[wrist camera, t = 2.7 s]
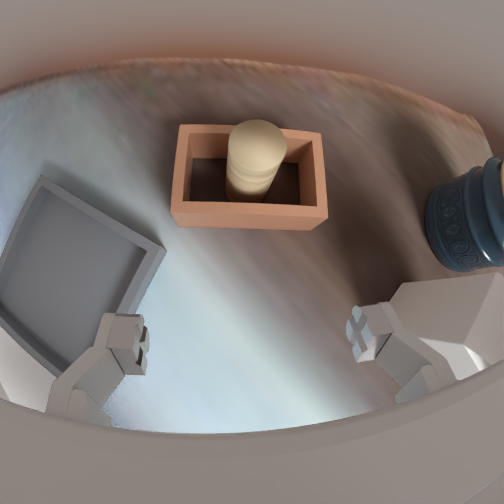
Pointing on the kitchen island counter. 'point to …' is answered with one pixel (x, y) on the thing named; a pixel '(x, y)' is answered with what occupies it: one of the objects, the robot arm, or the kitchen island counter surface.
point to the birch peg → (253, 160)
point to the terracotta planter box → (249, 214)
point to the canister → (469, 219)
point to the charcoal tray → (69, 275)
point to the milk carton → (456, 318)
